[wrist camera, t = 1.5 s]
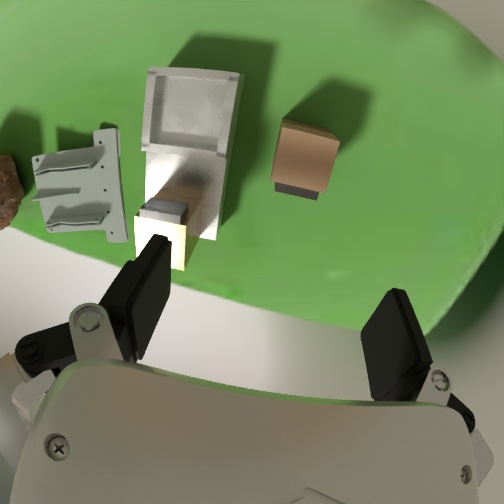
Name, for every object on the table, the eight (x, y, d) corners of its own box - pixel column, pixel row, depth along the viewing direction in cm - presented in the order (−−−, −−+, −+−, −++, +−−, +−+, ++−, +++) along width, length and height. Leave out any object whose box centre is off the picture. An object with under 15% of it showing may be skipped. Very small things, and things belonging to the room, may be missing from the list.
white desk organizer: (166, 67, 22) (120, 66, 15) (245, 74, 22) (229, 70, 15) (156, 214, 32) (121, 258, 25) (220, 226, 32) (202, 276, 25)
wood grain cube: (282, 118, 25) (282, 127, 20) (328, 129, 25) (340, 141, 20) (271, 168, 28) (268, 189, 23) (314, 178, 28) (322, 201, 23)
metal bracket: (42, 252, 30) (17, 147, 22) (56, 230, 35) (38, 135, 26) (135, 248, 33) (123, 129, 25) (141, 225, 38) (134, 121, 30)
